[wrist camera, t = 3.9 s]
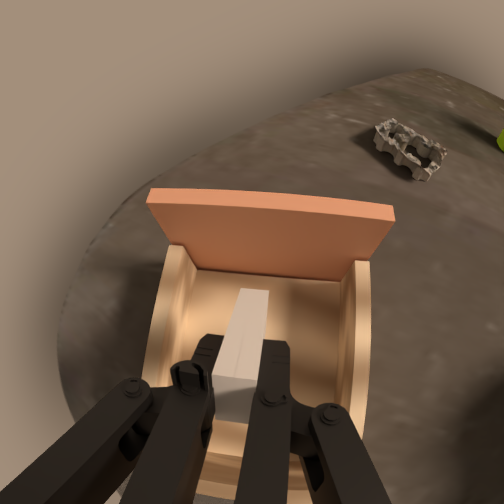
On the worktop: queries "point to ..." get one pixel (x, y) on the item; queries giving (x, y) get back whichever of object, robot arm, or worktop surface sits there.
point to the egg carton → (399, 144)
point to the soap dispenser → (501, 140)
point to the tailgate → (270, 231)
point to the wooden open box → (277, 328)
